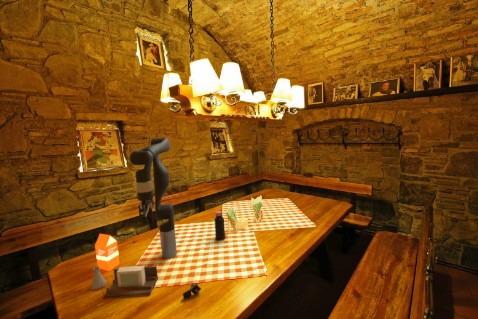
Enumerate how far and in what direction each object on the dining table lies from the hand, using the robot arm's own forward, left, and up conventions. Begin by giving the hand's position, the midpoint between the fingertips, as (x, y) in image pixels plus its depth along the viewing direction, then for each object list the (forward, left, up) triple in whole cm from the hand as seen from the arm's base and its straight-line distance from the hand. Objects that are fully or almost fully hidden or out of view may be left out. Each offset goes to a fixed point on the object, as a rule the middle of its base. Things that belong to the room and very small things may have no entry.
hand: (148, 220), depth 118 cm
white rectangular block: (+6, -9, -32) cm, 33 cm away
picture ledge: (+6, -9, -33) cm, 35 cm away
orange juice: (-16, -32, -33) cm, 49 cm away
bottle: (-42, +34, -33) cm, 63 cm away
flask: (+2, -28, -33) cm, 44 cm away
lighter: (+15, +23, -33) cm, 43 cm away
